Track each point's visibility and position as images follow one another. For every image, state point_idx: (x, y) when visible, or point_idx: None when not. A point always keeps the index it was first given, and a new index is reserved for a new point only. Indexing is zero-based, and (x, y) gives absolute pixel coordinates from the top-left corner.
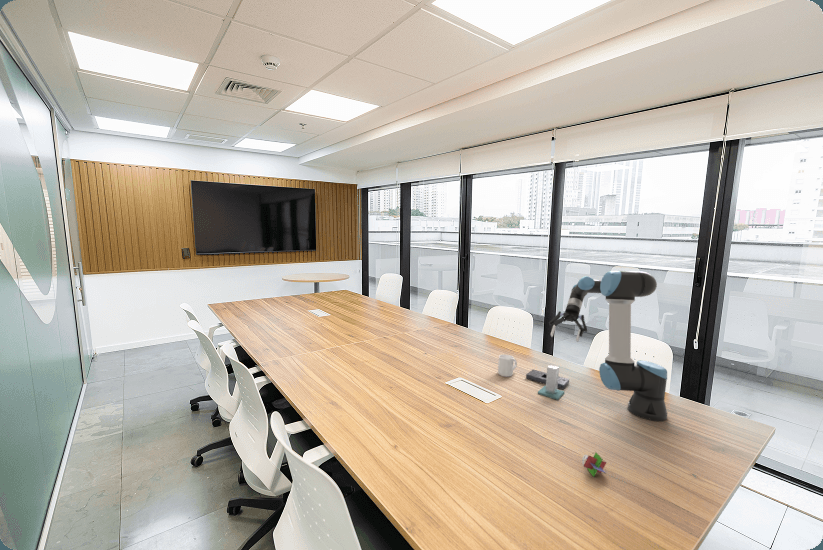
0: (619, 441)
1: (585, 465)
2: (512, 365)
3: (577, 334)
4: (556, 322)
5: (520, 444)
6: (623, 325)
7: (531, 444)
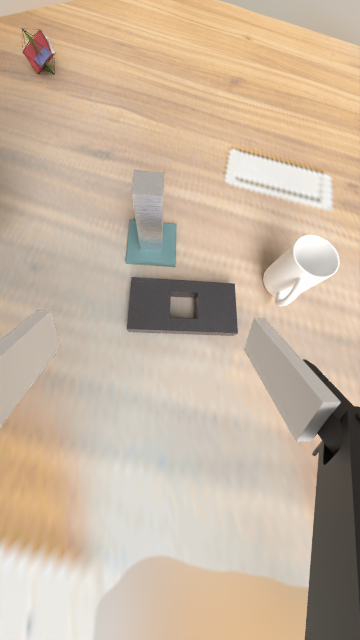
0: (8, 143)
1: (51, 52)
2: (279, 264)
3: (16, 340)
4: (357, 465)
5: (141, 83)
6: None
7: (129, 88)
